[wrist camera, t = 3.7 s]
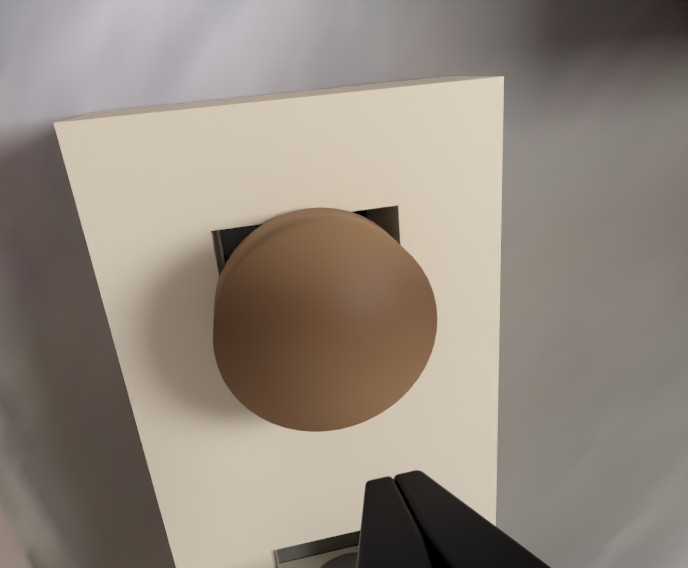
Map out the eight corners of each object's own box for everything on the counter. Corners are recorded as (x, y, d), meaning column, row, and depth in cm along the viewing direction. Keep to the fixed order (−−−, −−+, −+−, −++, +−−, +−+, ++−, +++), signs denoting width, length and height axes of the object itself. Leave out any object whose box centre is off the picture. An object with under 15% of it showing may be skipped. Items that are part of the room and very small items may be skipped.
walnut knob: (391, 333, 19) (439, 409, 15) (231, 361, 18) (233, 450, 14) (381, 175, 17) (434, 209, 13) (201, 199, 16) (191, 243, 12)
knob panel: (455, 571, 26) (493, 652, 22) (220, 629, 24) (220, 727, 21) (446, 76, 18) (503, 76, 14) (92, 112, 16) (53, 122, 12)
